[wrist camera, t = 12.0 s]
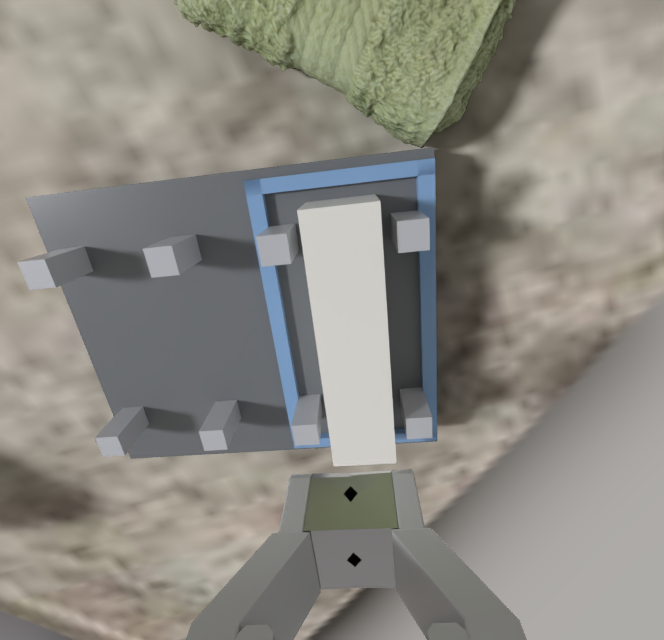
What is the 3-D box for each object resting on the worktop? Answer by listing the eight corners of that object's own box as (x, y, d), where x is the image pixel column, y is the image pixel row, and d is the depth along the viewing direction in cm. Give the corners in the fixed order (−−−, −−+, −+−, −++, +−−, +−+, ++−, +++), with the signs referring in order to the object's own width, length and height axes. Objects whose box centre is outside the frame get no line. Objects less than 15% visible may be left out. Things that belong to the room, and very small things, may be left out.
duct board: (57, 193, 19) (-27, 203, 15) (425, 148, 17) (448, 144, 13) (147, 436, 24) (105, 492, 20) (429, 418, 23) (447, 475, 19)
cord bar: (306, 202, 16) (297, 210, 14) (375, 194, 16) (380, 200, 13) (335, 426, 21) (333, 466, 18) (390, 422, 21) (396, 463, 18)
